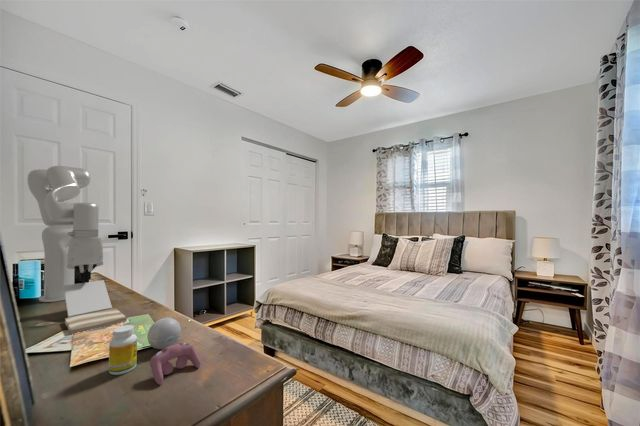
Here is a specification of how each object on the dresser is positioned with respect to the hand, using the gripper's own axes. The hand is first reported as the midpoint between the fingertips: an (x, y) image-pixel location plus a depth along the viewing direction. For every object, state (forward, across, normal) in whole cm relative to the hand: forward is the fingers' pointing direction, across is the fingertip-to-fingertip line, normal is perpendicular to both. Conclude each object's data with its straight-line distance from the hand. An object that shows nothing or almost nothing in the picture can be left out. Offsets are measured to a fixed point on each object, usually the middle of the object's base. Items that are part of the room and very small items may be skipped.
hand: (85, 282), depth 106 cm
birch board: (+10, 0, -20) cm, 23 cm away
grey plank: (+6, 0, -5) cm, 7 cm away
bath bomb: (+11, +9, -56) cm, 58 cm away
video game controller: (+11, +6, -71) cm, 72 cm away
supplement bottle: (+11, -2, -60) cm, 61 cm away
